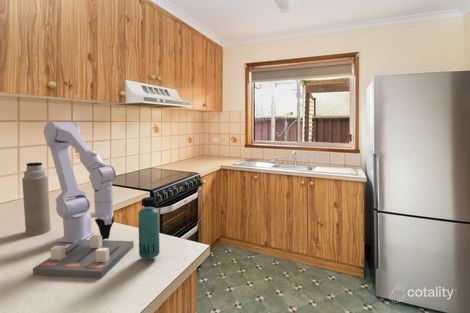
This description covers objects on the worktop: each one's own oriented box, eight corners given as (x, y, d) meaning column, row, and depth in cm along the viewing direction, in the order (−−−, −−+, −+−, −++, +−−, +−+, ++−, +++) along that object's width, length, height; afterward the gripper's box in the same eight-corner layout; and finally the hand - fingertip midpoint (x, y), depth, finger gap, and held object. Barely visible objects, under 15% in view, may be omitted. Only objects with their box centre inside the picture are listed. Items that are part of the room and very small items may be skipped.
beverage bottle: (154, 252, 89) (152, 194, 87) (164, 259, 84) (163, 198, 82) (135, 258, 84) (133, 197, 82) (144, 266, 80) (143, 201, 78)
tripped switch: (93, 245, 88) (93, 235, 88) (102, 245, 88) (101, 235, 88) (90, 247, 86) (89, 237, 86) (98, 248, 86) (98, 238, 86)
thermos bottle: (20, 235, 101) (15, 164, 98) (34, 228, 109) (29, 161, 106) (43, 235, 102) (38, 164, 99) (54, 227, 110) (50, 161, 107)
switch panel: (79, 244, 94) (78, 229, 93) (133, 246, 93) (133, 231, 92) (33, 275, 74) (32, 256, 74) (101, 278, 73) (100, 259, 72)
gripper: (87, 198, 95) (89, 234, 96) (93, 207, 83) (95, 248, 84) (109, 195, 99) (110, 230, 100) (117, 204, 87) (119, 243, 88)
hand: (105, 238), depth 93 cm, fingers closed
